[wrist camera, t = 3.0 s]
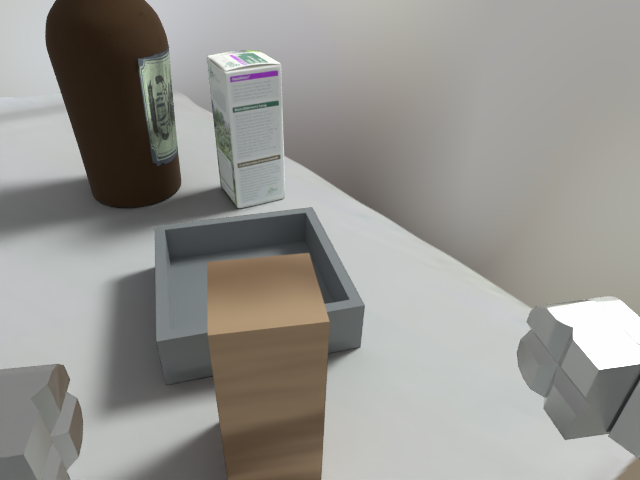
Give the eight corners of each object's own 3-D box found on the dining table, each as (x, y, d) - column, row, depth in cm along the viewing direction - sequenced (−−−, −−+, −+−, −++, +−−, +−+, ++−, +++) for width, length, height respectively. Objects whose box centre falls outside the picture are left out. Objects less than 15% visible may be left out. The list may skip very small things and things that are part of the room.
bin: (161, 264, 43) (154, 225, 41) (311, 243, 46) (312, 207, 44) (165, 384, 32) (156, 341, 30) (360, 346, 36) (364, 305, 33)
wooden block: (321, 480, 27) (329, 321, 21) (229, 496, 26) (207, 335, 20) (306, 406, 31) (309, 252, 25) (226, 417, 30) (207, 261, 24)
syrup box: (287, 198, 54) (285, 61, 45) (235, 210, 51) (224, 68, 43) (266, 177, 58) (261, 47, 50) (217, 187, 55) (204, 53, 47)
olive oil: (68, 209, 50) (-18, -82, 36) (109, 164, 59) (52, -84, 45) (171, 214, 50) (124, -77, 36) (197, 168, 59) (167, -80, 45)
